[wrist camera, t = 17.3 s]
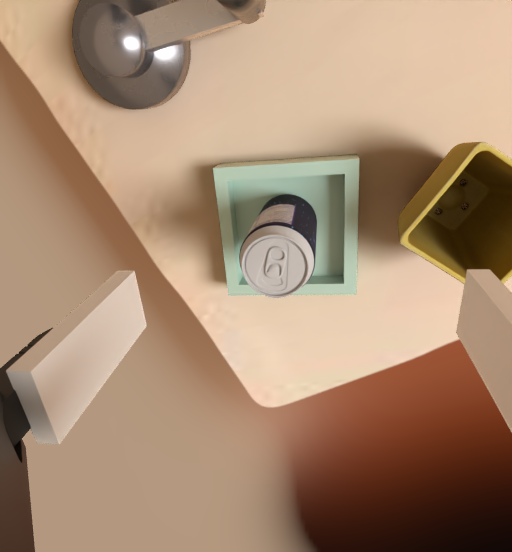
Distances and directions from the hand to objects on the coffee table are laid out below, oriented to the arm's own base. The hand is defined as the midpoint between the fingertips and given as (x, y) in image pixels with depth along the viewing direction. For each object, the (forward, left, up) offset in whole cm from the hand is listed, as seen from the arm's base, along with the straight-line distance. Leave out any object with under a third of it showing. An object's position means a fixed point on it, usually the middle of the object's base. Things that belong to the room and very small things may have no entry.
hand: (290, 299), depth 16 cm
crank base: (-13, -15, -25) cm, 32 cm away
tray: (+4, -2, -25) cm, 25 cm away
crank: (-14, -10, -22) cm, 28 cm away
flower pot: (+2, +13, -25) cm, 28 cm away
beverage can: (+3, -2, -24) cm, 24 cm away
